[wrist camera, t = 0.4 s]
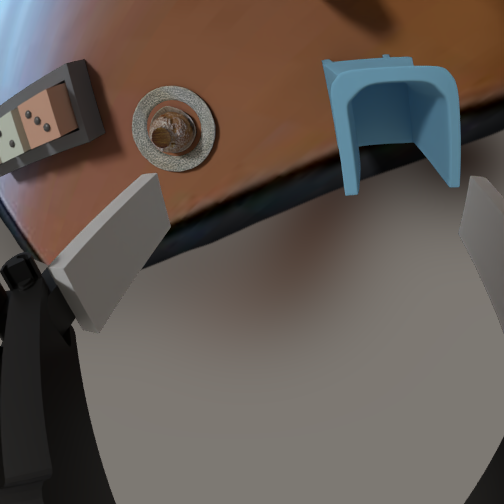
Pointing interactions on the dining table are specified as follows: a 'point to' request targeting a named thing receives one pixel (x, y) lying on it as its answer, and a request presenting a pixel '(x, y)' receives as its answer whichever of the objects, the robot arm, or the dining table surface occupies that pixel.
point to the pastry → (172, 129)
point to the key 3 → (48, 115)
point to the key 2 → (12, 136)
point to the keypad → (82, 107)
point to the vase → (394, 112)
